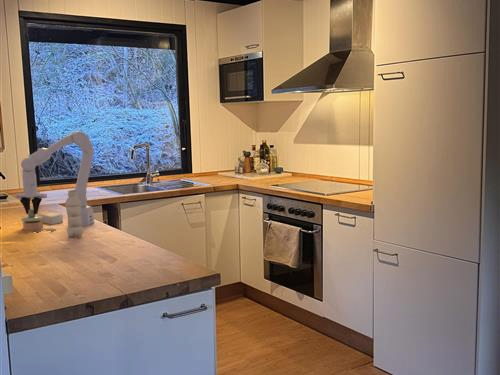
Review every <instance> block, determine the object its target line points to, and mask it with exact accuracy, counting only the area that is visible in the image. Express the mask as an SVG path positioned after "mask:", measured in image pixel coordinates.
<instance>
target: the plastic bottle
mask: <svg viewBox="0 0 500 375" xmlns="http://www.w3.org/2000/svg"><path fill="white" fill-rule="evenodd" d="M67 195H68V197H67V199H66V200H65V204H64V205H65V209H66V214H67V229H66V230H67V231H66V234H67V236H68V237H69V238H75V237H76V238H79V236H80V237H81V236H83V234H84V228H83V225H82V224H81V216H80V215H81V201H80V199H79V198H78V197H77V190H75V189H71V190H68V191H67Z"/></svg>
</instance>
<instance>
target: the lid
mask: <svg viewBox="0 0 500 375" xmlns="http://www.w3.org/2000/svg"><path fill="white" fill-rule="evenodd" d="M20 219H21V220H20V221H21V222H24V221H25V222H30V221H40V220H43V217H42V216H39V215H36V214H34V211H33V208H30V209H29V210H28V214H27V216H23V217H21V218H20Z"/></svg>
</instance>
